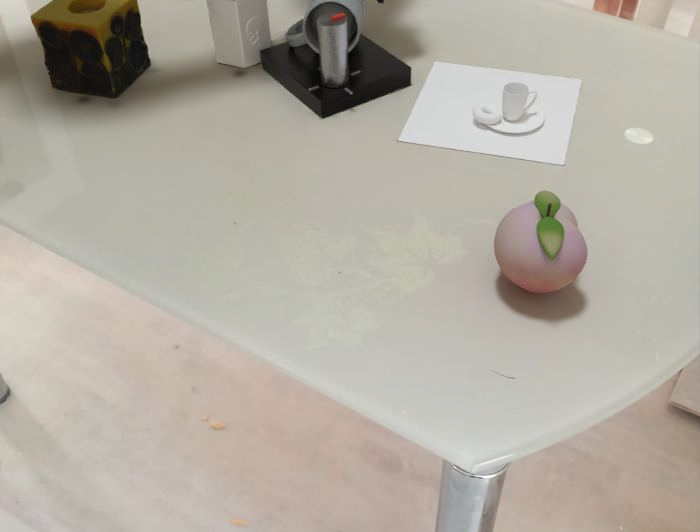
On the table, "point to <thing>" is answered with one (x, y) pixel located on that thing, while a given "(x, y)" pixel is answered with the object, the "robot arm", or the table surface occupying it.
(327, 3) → the ceramic mug
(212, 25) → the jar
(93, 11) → the candle
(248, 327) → the table surface
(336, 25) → the silver cylinder
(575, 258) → the decorative fruit
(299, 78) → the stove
